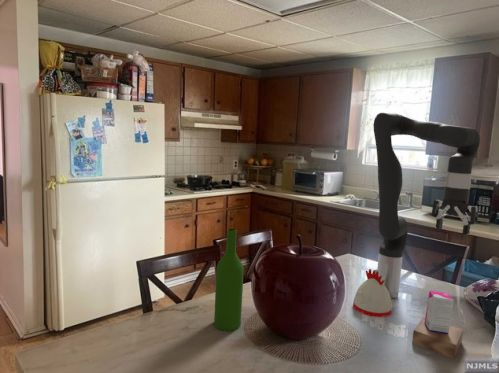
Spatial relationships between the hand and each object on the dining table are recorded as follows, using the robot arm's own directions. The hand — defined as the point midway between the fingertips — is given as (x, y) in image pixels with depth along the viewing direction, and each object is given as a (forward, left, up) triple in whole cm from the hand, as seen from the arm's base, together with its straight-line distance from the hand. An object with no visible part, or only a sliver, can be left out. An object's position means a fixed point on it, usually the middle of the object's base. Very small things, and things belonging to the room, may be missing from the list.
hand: (451, 232), depth 128 cm
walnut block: (+6, -15, -34) cm, 37 cm away
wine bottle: (-38, -66, -33) cm, 83 cm away
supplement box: (+6, -15, -29) cm, 33 cm away
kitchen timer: (-20, -12, -34) cm, 41 cm away
